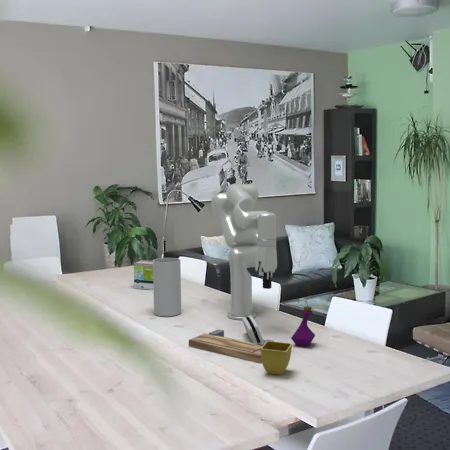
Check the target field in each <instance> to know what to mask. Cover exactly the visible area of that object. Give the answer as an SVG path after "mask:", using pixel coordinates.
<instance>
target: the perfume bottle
mask: <svg viewBox="0 0 450 450" xmlns="http://www.w3.org/2000/svg"><path fill="white" fill-rule="evenodd" d="M300 301H303V302H305V304H306V306H304V307H303V310H302V311H301V314H303V317H302V320H301V322H300V323H299V326H298V327H297V328H296V330H295V332H294V333H293V335H292V336H291V337H290V339H291V340H292V341H293V343H294V344H295V346H297V347H303V348H304V347H305V348H307V347H308V346H310V344H312V341H314V338H315V337H316V334H315V333H314V332H313V331H312V330H311V328H309V325H308V320H309V317H310V316H311V315H313V311H312V306H309V304H308V300H307V299H306V298H305V297H302V298H299V299H298V301H297V304H299V303H300Z"/></svg>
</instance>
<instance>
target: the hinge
mask: <svg viewBox="0 0 450 450" xmlns="http://www.w3.org/2000/svg"><path fill="white" fill-rule="evenodd" d="M241 322H242V324H243V326H244V329H245V332H246V334H247V336H248V337H249V339H250V340H251V343H254V344H257V345H258V343H261V342H263V341H265V340H266V338H265V337H264V336H263V334H262V332H261V330H260V329H259V326H258V324H257V323H256V320H255V319H254V318H253V317H252V316H251V315H250V316H247V318H245V317H244V318H243V319H242V320H241Z"/></svg>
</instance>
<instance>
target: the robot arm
mask: <svg viewBox="0 0 450 450" xmlns="http://www.w3.org/2000/svg"><path fill="white" fill-rule="evenodd" d="M258 198H259V190H258V188H257V187H256V185H255V184H251V183H245V184H244V183H242V184H241V183H239V184H232V185H230V186H228V187H227V188H226V191H225V192H221V193H215V194H214V195H213V196H212V198H211V210H212V213H213V217H214V218H215V220H216V221H217V222H218V224H219V226H220V229H221V231H222V235H223V237H224V238H223V239H224V240H225V244H227V245H226V246H228V248H230V250H229V252H228V254H227V257H228V263H229V271H230V272H229V273H230V311H228V312H227V318H229V319H232V320H238V321H239V320H241V321H242V319H243V318H244V317H245V318H247V316H250V315H251V316H252V317H253V319H254V318H255V317H256V312H255V311H253V310H254V309H257V307H258V306H257V304H256V303H254V304H253V279H252V275H251V273H250V272H249V270H248V269H249V268H254V270H255V272H256V273H257V272H258V276H261V279H262V288H263V289H264V290H270V289H272V288H273V287H272V278H273V274H274V273H275V272H276V270H277V268H278V254H277V215H276V214H275V213H274V212H270V211H267V210H253V209H254V208H255V204H256V202H257V201H258ZM230 211H232V213H231V212H230Z"/></svg>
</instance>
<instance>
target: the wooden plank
mask: <svg viewBox="0 0 450 450" xmlns="http://www.w3.org/2000/svg"><path fill="white" fill-rule="evenodd" d="M188 347H190V348H195V349H199V350H204V351H207V352H210V353H211V352H212V353H216V354H220V355H224V356H228V357H233V358H238V359H241V360H246V361H249V362H254V363H259V364H261V363H262V357H261V347H262V345H257V344H254V343H253V342H249V341H244V340H240V339H234V338H230V337H226V336H224V337H221V336H215V335H210V334H209V333H202V334H200V335H197V336H195V337H193V338H190V339H188Z"/></svg>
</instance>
